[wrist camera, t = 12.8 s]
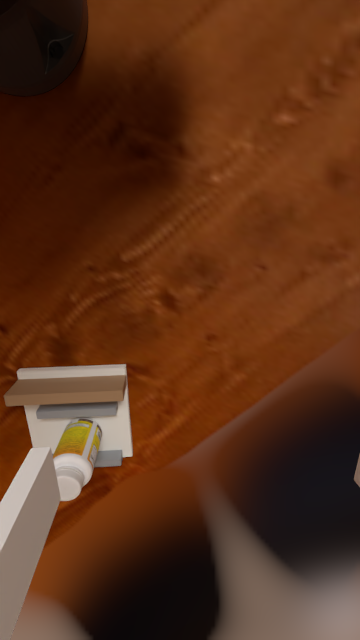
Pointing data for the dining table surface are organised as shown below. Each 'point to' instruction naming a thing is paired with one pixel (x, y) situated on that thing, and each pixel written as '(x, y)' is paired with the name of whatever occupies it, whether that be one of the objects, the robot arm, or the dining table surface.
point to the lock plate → (76, 405)
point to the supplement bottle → (76, 456)
